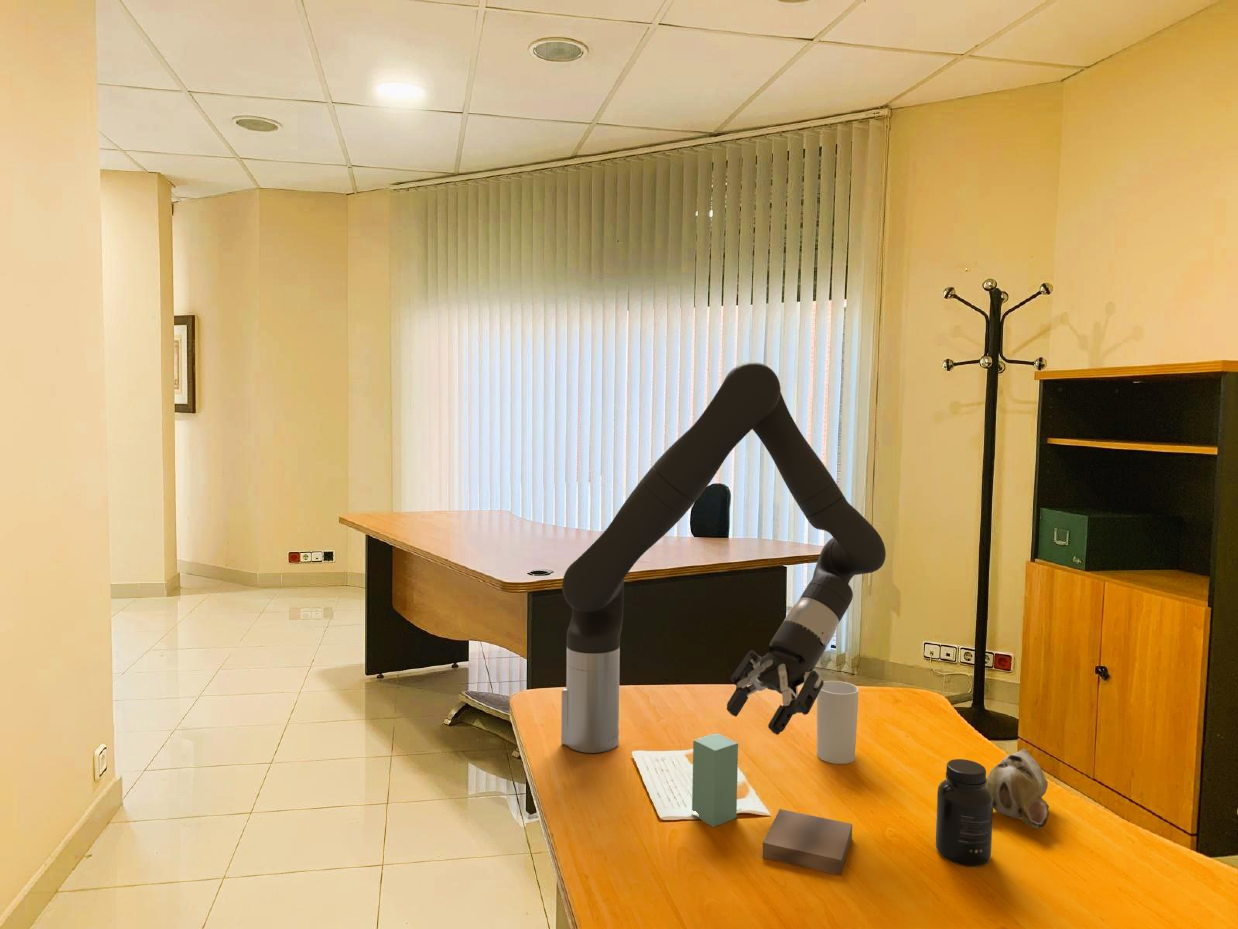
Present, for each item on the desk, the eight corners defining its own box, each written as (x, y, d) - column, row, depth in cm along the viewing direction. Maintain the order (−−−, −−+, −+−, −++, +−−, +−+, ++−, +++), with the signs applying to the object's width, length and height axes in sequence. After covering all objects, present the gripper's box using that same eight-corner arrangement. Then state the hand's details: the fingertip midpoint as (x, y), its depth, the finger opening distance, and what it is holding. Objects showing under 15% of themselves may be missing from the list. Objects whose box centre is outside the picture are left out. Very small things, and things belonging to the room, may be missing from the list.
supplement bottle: (926, 841, 112) (929, 755, 111) (974, 840, 112) (977, 754, 112) (950, 869, 105) (954, 778, 104) (1001, 867, 106) (1005, 776, 105)
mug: (849, 768, 134) (851, 697, 134) (809, 759, 138) (811, 689, 137) (866, 747, 143) (868, 680, 142) (828, 739, 147) (830, 673, 146)
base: (762, 857, 107) (762, 842, 107) (779, 822, 116) (779, 809, 116) (840, 875, 103) (841, 860, 103) (851, 838, 112) (852, 824, 112)
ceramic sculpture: (1064, 747, 122) (1044, 788, 111) (1062, 802, 123) (1042, 849, 112) (987, 730, 129) (961, 768, 117) (987, 783, 130) (960, 825, 118)
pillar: (691, 814, 119) (693, 740, 118) (714, 805, 121) (716, 733, 121) (713, 827, 115) (714, 750, 114) (736, 818, 118) (738, 743, 117)
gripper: (759, 610, 132) (705, 694, 126) (831, 630, 120) (775, 723, 114) (781, 638, 135) (729, 721, 129) (852, 659, 124) (799, 751, 118)
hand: (751, 722), depth 122 cm, fingers open, 8 cm apart
